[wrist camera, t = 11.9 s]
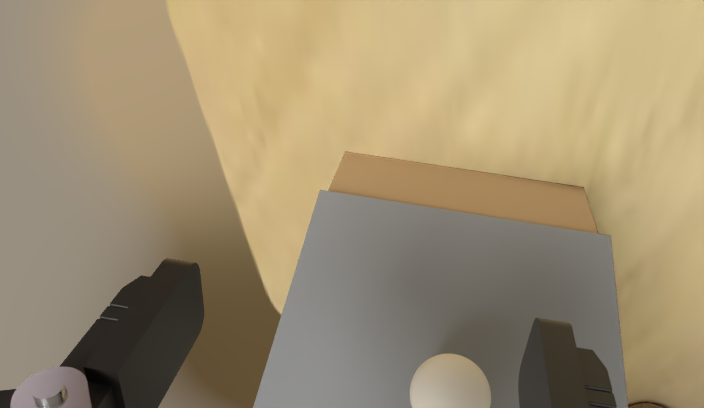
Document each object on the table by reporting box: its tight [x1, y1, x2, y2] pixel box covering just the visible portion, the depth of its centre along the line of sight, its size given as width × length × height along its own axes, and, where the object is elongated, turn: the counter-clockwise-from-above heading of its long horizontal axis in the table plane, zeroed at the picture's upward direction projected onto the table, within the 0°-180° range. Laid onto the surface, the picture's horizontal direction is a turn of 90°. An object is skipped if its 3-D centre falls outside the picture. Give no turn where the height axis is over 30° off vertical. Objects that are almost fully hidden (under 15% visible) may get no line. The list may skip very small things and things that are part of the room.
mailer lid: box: [253, 190, 628, 408], centre depth 34 cm, size 21×18×7 cm
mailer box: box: [328, 152, 598, 234], centre depth 50 cm, size 20×16×8 cm
